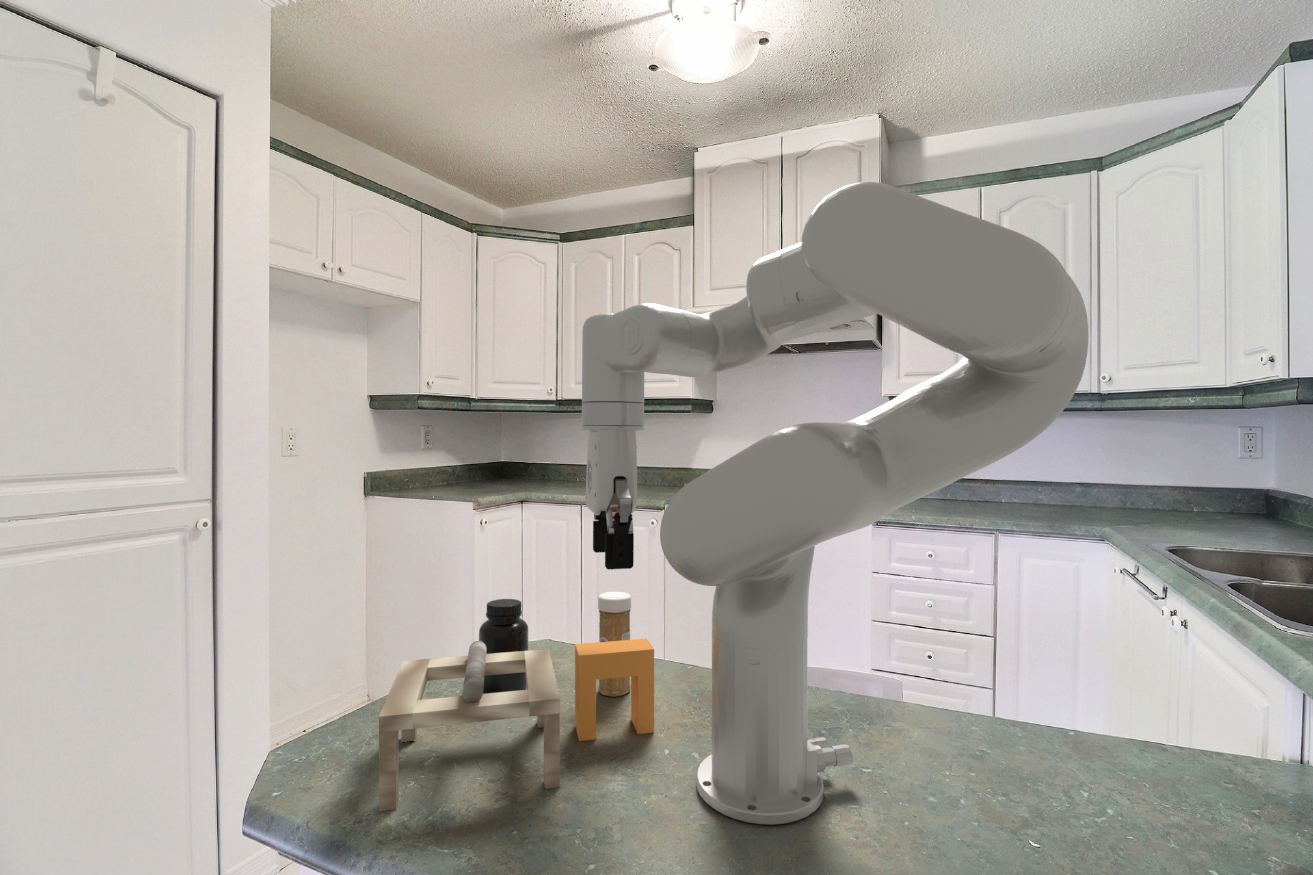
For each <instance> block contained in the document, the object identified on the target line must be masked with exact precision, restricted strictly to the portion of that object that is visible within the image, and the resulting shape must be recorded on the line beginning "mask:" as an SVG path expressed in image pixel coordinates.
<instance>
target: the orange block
mask: <svg viewBox="0 0 1313 875" xmlns="http://www.w3.org/2000/svg"><path fill="white" fill-rule="evenodd" d="M629 676H630V720H631V722H632V724H633V726H634V729H635V731H636V734H637V735H644V734H645V735H646V734H650V733H651V734H652V733H653V734H654V733H655V648H654V647H653V645H652V643H650V641H649V639H648V638H635V639H630V640H622V641H610V642H599V641H598V642H588V643H587V642H586V643H576V644H574V714H575V715H574V721H575V722H574V726H575V730H576V734H577V738H578V742H582V741H583V742H585V741H592V740H597V680H598V681H599V679H608V678H619V677H629Z"/></svg>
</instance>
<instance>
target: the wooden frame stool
mask: <svg viewBox="0 0 1313 875" xmlns="http://www.w3.org/2000/svg"><path fill="white" fill-rule="evenodd" d="M467 654H468V655H457V656H445V657H434V658H424V659H423V658H422V659H411V660H410V659H407V660H402V662H401V665H400V668H399V669H398V672H397V674H396V676H395V679H394V682H393V684H392V686H391V688H390V689H389V690H390V691H389V693H388V695H387V697H386V699H385V702H384V703H383V706H382V709H381V711H380V713H379V715H378V809H379V810H378V811H379V812H385V811H391V810H392V811H393V810H397V808H398V804H399V800H400V799H399V798H400V797H399V796H400V795H399V794H400V793H399V792H400V791H399V790H400V789H399V787H400V786H399V785H400V784H399V783H400V781H399V778H400V777H399V774H400V773H399V767H400V766H399V731H401V743H402V742H405V743H410V742H409V741H414V740H417V737H418V729H425V728H432V727H443V726H452V725H463V724H472V723H481V722H492V721H499V720H500V721H501V720H508V719H519V718H527V717H528V718H529V717H536V725H537V726H536V727H537V729H538V728H543V783H544V784H543V785H544V790H549V789H556V788H560V787H561V772H560V771H561V768H560V767H561V755H560V754H561V751H560V750H561V749H560V747H561V742H560V740H561V736H560V735H561V724H560V722H561V720H560V718H561V715H560V713H561V712H560V710H561V707H560V706H561V702H560V700H561V698H560V694H559V689H558V684H557V679H556V675H555V671H554V664H553V661H552V656H551V651H550V649H549V648H545V649H534V650H533V649H532V650H530V649H528V651H517V652H505V653H493V654H486V645H485V643H483V642H482V641H479V640H475V641H473V642H472V643H471V644H470V645H469V649H468V653H467ZM520 672H525V674H526V684H527V686H526V689H523V690H519V691H509V692H499V693H488V694H484V693H483V687H484V676H487V675H498V674H509V673H520ZM461 678H462V679H463V678H464V679H463V686H462V692H461V695H457V696H448V697H439V698H428V699H427V698H426V699H423V696H424V693H425V688H426V686H427V683H428V681H429V682H431V681H442V680H451V679H461ZM407 741H408V742H407ZM414 742H415V741H414Z"/></svg>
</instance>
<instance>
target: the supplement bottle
mask: <svg viewBox="0 0 1313 875" xmlns="http://www.w3.org/2000/svg"><path fill="white" fill-rule="evenodd" d="M522 615H523V611H522V601H521V600H518V599H515V598H500V599H499V598H498V599H494V600H490V601H488V602H487V603H486V613H485V617H486V618H487V620H486V621H484V622H483V623H482V624H481V626H480V627H479V629H478V641H482V642H483V643H485V645H486V654H493V653H505V652H517V651H529V626H528V623H527V622H526V621H525V620H524V619H523V618H521V617H522ZM525 688H527V684H526V674H525V672H520V673H509V674H498V675H487V676H484V687H483V694H488V693H499V692H509V691H519V690H525Z"/></svg>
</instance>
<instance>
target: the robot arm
mask: <svg viewBox="0 0 1313 875" xmlns="http://www.w3.org/2000/svg"><path fill="white" fill-rule="evenodd" d="M746 276H747V277H746V289H745V290H746V291H745V292H746V296H745V297H743V298H741V299H740V300H738V301H736V302H734V303H731V304H729V305H726V306H723V307H721V308H718V309H715V310H713V311H710V312H709V311H708V312H706V313H702V314H698V313H694V312H691V311H686V310H684V309H679V308H676V307H670V306H665V305H661V304H657V303H649V302H648V303H638V304H634V305H632V306H630V307H627V308H625V309H623V310H620V311H618V312H615V313H600V314H599V313H598V314H594V315H592V316H589V317H588V318H586V320H584V322H583V325H582V332H581V334H582V336H581V337H582V340H581V341H582V342H581V343H582V346H581V347H582V350H581V351H582V352H581V356H582V358H581V359H582V360H581V365H582V366H581V367H582V368H581V370H582V371H581V402H582V403H581V430H582V431H589V433H588V441H587V456H586V477H585V478H586V481H585V482H586V483H585V501H584V503H585V506H586V507H587V509H589V510H590V511H591V512H592V513H593V519H594V520H593V521H592V550H593V552H594V553H596V554H597V553H604V567H605V568H606V570H626V569H627V570H629V569H630V570H631V569H632V568H633V567H634V550H635V549H634V548H635V547H634V544H635V542H634V541H635V537H634V535H635V534H634V523H633V522H634V521H633V519H634V518H633V513H634V512H635V511H636V509H637V502H638V500H637V497H638V458H637V452H638V451H637V449H638V446H637V435H636V434H637V431H645V373H649V374H660V375H671V376H678V377H679V376H681V377H685V378H686V377H688V378H700V377H707V376H710V375H714V374H719V373H722V372H725V371H728V370H732V369H735V368H739V367H742V366H745V365H748V364H751V363H754V362H757V361H758V360H760V359H762V358H764V357H766V356H767V355H769V354H771V353H772V352H774V351H776V350H778V349H779V348H780V347H781V346H782V345H784V344H785V343H787V342H789V341H790V342H791V341H793V340H796V339H799V338H802V337H803V338H804V337H805V336H809V335H812V334H816V333H818V332H821V331H824V330H825V331H826V330H827V329H831V328H834V327H838V326H840V325H844V324H847V323H851V322H854V321H858V320H861V319H864V318H868V317H870V316H874V315H877V314H878V315H879V316H881V317H883V318H885V319H887V320H889V321H891V322H893V323H895V324H897V325H899V326H901V327H903V328H905V329H907V330H909V331H911V332H913V333H915V334H917V335H919V336H921V337H922V338H925V339H927V340H929V341H930V342H933V343H934V344H936V345H938V346H940V347H942V348H943V349H945V350H947V351H950V352H952V353H953V354H955V355H958V356H960V357H962V358H961V359H960V360H959V361H958V362H957V363H956V364H954V365H953V366H952V367H950V368H948V369H947V370H946V371H944V372H943V373H940V374H937V375H935V376H933V377H931V378H929V379H927V380H925V381H923V382H920V383H917V384H916V385H915V386H912V387H910V388H908V389H906V390H905V391H903V392H901V393H900V394H899V395H897V396H895V397H894V398H893V399H891V400H889V401H886V402H885V403H884V404H882V405H879V406H878V407H875V408H874V409H872V410H870V411H868V412H865V413H864V414H862V415H859V416H857V417H855V418H853V419H850V420H846V421H837V422H828V421H827V422H824V421H823V422H818V421H817V422H804V423H799V424H795V425H792V426H791V425H790V426H788V427H785V428H782V429H779V430H777V431H775V432H773V433H771V434H768V435H767V436H765V437H763V438H760V439H759V440H758V441H756V442H754V443H752V444H751V445H749V446H748V447H746V448H744V449H743V450H741V451H740V452H737V453H736V454H734V455H733V456H731V457H729V458H727V459H726V460H724V461H723V462H721V463H719V464H717V465H716V466H714V467H712V468H711V469H709V470H707V471H706V472H704V473H703V474H701V475H699V476H698V477H695V478H694V479H693V480H691V481H689V482H688V483H686V484H685V485H684V486H683V487H681V488H680V489H679V490H678V491H677V492H676V493H675V494H674V495H673V496H672V497H671V499H670V501H669V503H668V504H667V505H666V508H665V510H664V512H663V515H662V517H661V522H660V528H659V539H660V545H661V550H662V553H663V555H664V556H665V559H666V561H667V563H668V564H669V565H670V566H671V568H672V569H673V570H674V571H675V572H676V573H677V574H679V576H681V577H682V578H684V579H686V580H687V581H690V582H692V583H694V584H697V585H702V586H706V587H715V590H714V595H713V601H712V610H711V754H710V755H708V756H707V757H705V758H704V759H703V760H702V761H701V762H700V764H699V765H698V767H697V769H696V778H695V779H696V780H695V781H696V782H695V783H696V789H697V791H698V794H699V796H700V797H701V798H702V800H703V801H704V802H705V803H706V804H707V805H709V806H710V807H711V808H712V809H714V810H715V811H717V812H719V813H721V814H722V815H724V816H727V817H728V818H732V819H734V820H738V821H741V822H745V823H749V824H757V825H783V824H790V823H794V822H798V821H801V820H802V819H804V818H808V817H809V816H810V815H811V814H813V813H814V812H815V811H817V809H818V808H819V807H820V806H821V804H822V802H823V800H824V780H823V779H822V776H821V774H820V773H823V772H825V770H826V768H830V767H834V768H836V767H842V766H849V765H852V764H853V760H854V759H853V758H854V757H853V754H852V753H853V752H852V750H851V747H850V746H849V745H848V744H846V743H844V744H837V745H836V744H835V745H829V743H828V740H827V738H826V737H825V736H821V737H813V738H810V739H809V738H808V637H809V636H808V635H809V634H808V633H809V630H808V629H809V626H808V625H809V624H808V623H809V622H808V620H809V592H810V582H811V581H810V580H811V573H812V568H813V560H814V553H815V548H816V545H818V544H821V543H823V542H826V541H829V540H831V539H833V538H836V537H840V536H842V535H845V534H849V533H852V532H856V531H858V530H861V529H864V528H866V527H869V526H870V525H873V524H874V523H876V522H878V521H880V520H881V519H882V518H884V517H886V516H887V515H889V514H891V513H893V512H894V511H896V510H898V509H900V508H902V507H905V506H906V505H909V504H911V503H912V502H913V503H914V501H917V500H918V499H921V498H923V497H925V496H928V495H929V494H932V493H935V492H936V491H939V490H941V489H943V488H945V487H947V486H949V485H951V484H953V483H955V482H957V481H959V480H960V479H963V478H965V477H968V476H969V475H971V474H973V473H975V472H978V471H979V470H982V469H984V468H986V467H989V466H990V465H992V464H995V463H996V462H999V461H1000V460H1002V459H1004V458H1005V457H1007V456H1009V455H1012V454H1013V453H1015V452H1016V451H1018V450H1019V449H1021V448H1023V447H1024V446H1026V445H1027V444H1029V443H1030V442H1032V441H1033V440H1034V439H1036V438H1038V436H1040V435H1041V434H1042V433H1043V432H1044V431H1045V430H1047V429H1048V427H1050V426H1051V425H1052V424H1053V423H1054V422H1055V421H1056V419H1057V418H1058V417H1059V416H1060V415H1061V414H1062V412H1063V411H1064V410H1065V408H1067V406H1068V404H1070V401H1071V400H1072V399H1073V397H1074V395H1075V393H1076V391H1077V390H1078V387H1079V385H1080V383H1081V381H1082V377H1083V376H1084V372H1085V369H1086V368H1085V367H1086V363H1087V358H1088V351H1089V321H1088V320H1089V319H1088V314H1087V309H1086V305H1085V302H1084V299H1083V296H1082V293H1081V292H1080V290H1079V288H1078V287H1077V285H1076V282H1075V281H1074V280H1073V278H1072V277H1071V276H1070V275H1069V273H1068V272H1067V271H1066V268H1065V267H1064V266H1063V263H1061V262H1060V261H1059V258H1057V257H1056V256H1055V255H1054V253H1052V251H1050V250H1049V249H1047V248H1046V247H1045V246H1044V245H1043V244H1042V243H1040V242H1038V241H1036V240H1034V239H1032V238H1031V237H1029V236H1026V235H1025V234H1023V233H1020V232H1017V231H1015V230H1013V229H1010V228H1007V227H1004V226H1001V225H999V224H996V223H994V222H991V221H987V220H985V219H983V218H980V217H976V216H974V215H971V214H968V213H965V212H963V211H960V210H957V209H954V208H951V207H949V206H946V205H943V204H941V203H938V202H935V201H933V200H931V199H928V198H925V197H922V196H919V195H917V194H914V193H912V192H909V191H907V190H904V189H901V188H898V187H896V186H893V185H892V184H891V185H890V184H886V183H883V182H876V181H875V182H874V181H861V182H856V183H852V184H847V185H845V186H843V187H841V188H838V189H836V190H835V191H833V192H831V193H830V194H828V195H827V196H825V197H824V198H823V199H822V200H821V201H820V202H819V203H818V204H817V205H816V206H815V208H814V209H813V211H811V212H810V215H809V216H808V218H807V220H806V222H805V224H804V228H803V231H802V235H801V242H799V243H795V244H794V245H791V246H788V247H785V248H782V249H781V250H778V251H776V252H774V253H771V254H768V255H766V256H763V257H760V258H759V259H758V260H756V261H755V262H754V263H753V264H752V265H751V267H750V268H749V270H748V272H747V275H746Z"/></svg>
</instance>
